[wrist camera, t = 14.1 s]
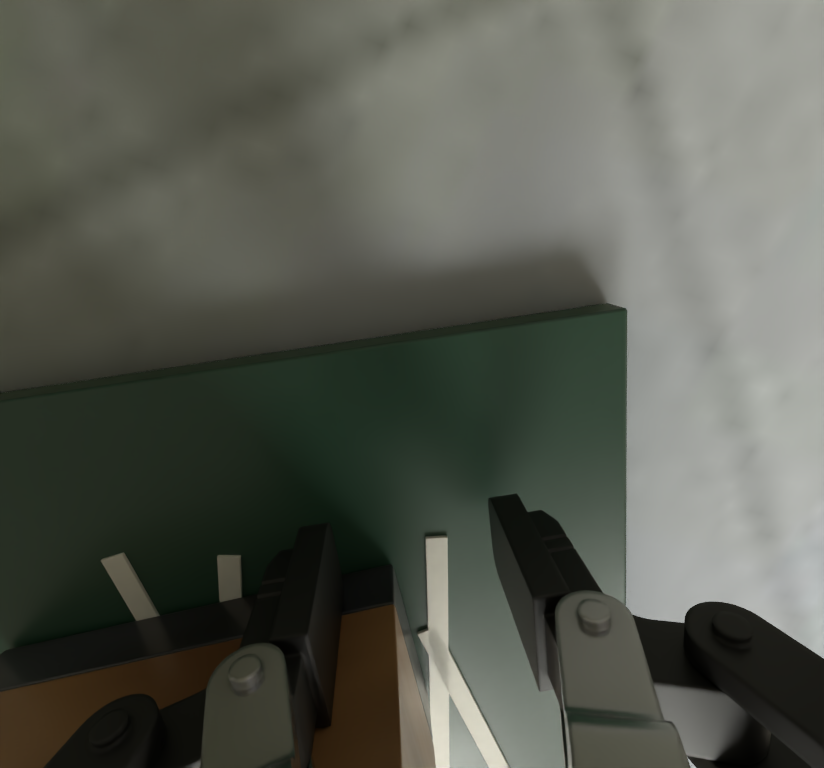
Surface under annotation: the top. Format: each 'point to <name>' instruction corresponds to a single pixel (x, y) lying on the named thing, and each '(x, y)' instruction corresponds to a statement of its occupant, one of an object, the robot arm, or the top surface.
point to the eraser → (200, 655)
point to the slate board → (331, 494)
